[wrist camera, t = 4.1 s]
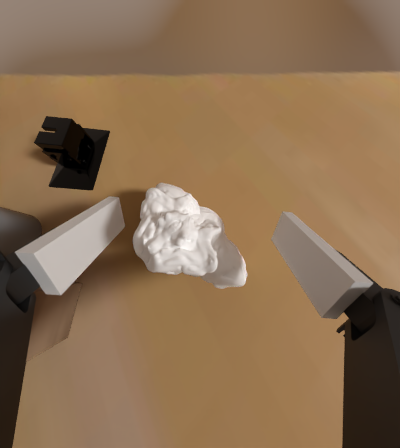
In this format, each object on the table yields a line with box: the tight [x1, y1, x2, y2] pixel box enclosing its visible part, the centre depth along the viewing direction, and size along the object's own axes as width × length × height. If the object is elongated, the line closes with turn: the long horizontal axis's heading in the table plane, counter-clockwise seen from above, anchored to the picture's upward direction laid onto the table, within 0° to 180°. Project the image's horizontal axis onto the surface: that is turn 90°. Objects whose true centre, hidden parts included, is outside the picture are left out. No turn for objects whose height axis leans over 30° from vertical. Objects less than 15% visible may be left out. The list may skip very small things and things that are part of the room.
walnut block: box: [26, 283, 82, 362], centre depth 11 cm, size 5×5×8 cm
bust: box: [133, 183, 247, 289], centre depth 13 cm, size 12×8×11 cm
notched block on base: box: [34, 116, 110, 190], centre depth 18 cm, size 12×7×5 cm, turn 175°
